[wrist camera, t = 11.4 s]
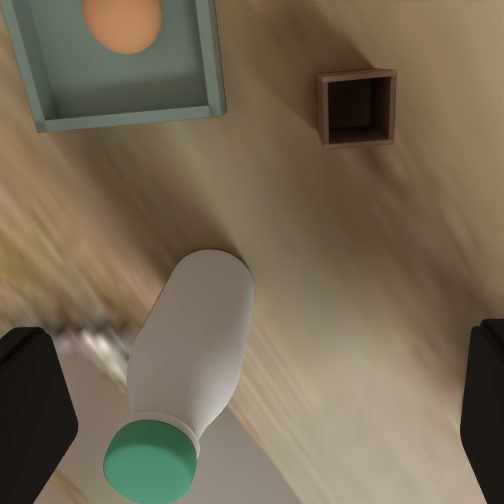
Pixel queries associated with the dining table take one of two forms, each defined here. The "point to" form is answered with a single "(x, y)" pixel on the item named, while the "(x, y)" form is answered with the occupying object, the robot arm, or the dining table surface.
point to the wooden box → (356, 108)
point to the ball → (123, 23)
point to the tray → (116, 67)
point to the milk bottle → (181, 376)
